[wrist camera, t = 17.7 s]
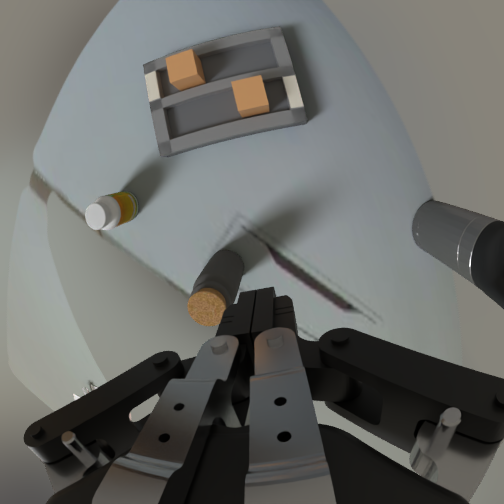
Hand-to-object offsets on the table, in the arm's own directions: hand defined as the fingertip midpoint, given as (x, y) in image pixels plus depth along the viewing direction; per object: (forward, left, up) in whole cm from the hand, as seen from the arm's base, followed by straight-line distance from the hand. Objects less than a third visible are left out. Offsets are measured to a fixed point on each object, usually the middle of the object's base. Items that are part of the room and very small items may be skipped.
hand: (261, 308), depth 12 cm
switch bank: (+3, -20, -32) cm, 38 cm away
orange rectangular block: (-1, -16, -30) cm, 34 cm away
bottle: (+9, +8, -32) cm, 34 cm away
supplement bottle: (+24, -6, -32) cm, 41 cm away
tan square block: (+7, -23, -30) cm, 39 cm away
